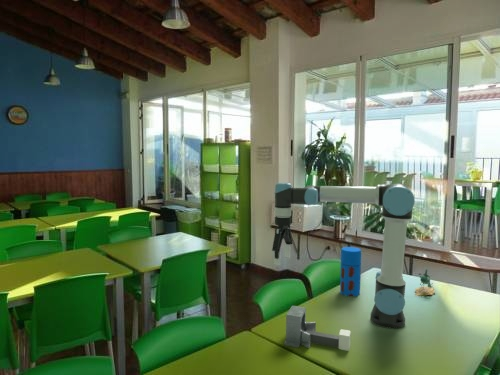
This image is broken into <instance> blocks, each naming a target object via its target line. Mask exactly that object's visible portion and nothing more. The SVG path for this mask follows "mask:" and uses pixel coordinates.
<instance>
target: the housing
mask: <svg viewBox="0 0 500 375" xmlns="http://www.w3.org/2000/svg"><path fill="white" fill-rule="evenodd" d="M306 316H307V307H305V306H303V307H302V306H299V305H298V306H297V305H291V307H290V308H289V309H288V311H287V313H286V315H285V318H286V320H285V321H286V322H285V341H284V343H283V344H284V346H287V347H288V346H289V347H293V348H298V349H299V348H300V346H301V345H302V346H303V347H305V348H308V349H310V348H311V343H310V338H311V334H309V333H307V332H305V331H306V330H308V331H314V332H317V331H316V327H317V325H316V321H307V320H306V319H307V318H306Z"/></svg>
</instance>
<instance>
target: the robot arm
mask: <svg viewBox="0 0 500 375" xmlns="http://www.w3.org/2000/svg"><path fill="white" fill-rule="evenodd" d="M274 188H275V189H274V209H273V211H274V216H275V217H274V225H276V226H278V227H277V228H275V229H274V237H273V242H272V248H271V251H272V252H274V253H273V255H274V259H273V264H274V266H281V259H282V258H281V253H282V252H281V246H282V242H283V241H284V243H285V244H284V258H287V259H291V246H292V245H293V235H292V231H291V225H292V217H291V216H292V205H303V206H304V205H305V206H306V205H307V206H316V205H317V204H318V202H321V203H322V202H324V203H325V202H326V203H349V204H350V203H354V204H375V205H377V207H381V208H382V210H381V217H382V218H383V219H384V229H383V230H384V231H383V241H382V242H383V243H382V254H381V255H382V256H381V265H380V266H381V267H380V271H378V272H376V274H375V292H374V299H373V300H374V305H373V307H372V310H371V312H370V321H371V322H372V323H373V324H374V325H376V326H379V327H381V328H385V329H386V328H387V329H401V328H403V327H405V326H406V317H405V314H404V308H405V305H406V300H405V295H406V294H405V293H406V284H407V283H406V281H405V280H404V277H403V272H404V260H405V249H406V240H407V238H406V237H407V231H408V230H407V229H408V222H410V221H411V220H412V218H413V208H414V205H415V195H414V193H413V191H412V190H411V189H410V188H409V187H408V186H407V185H405V184H402V183H389V184H377V185H376V186H342V185H337V186H336V185H334V186H333V185H313V184H312V185H311V184H310V185H309V184H308V185H306V186H305V187H292V184H291V183H289V182H277V183H276V184H275V187H274Z"/></svg>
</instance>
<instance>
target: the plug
mask: <svg viewBox="0 0 500 375" xmlns="http://www.w3.org/2000/svg"><path fill="white" fill-rule="evenodd" d="M305 332H307V333H309V334H311V338H310V344H311V343H312V344H317V345H323V346H327V347H334V348H337V349H338V350H342V351H348V352H349V351H350V348H351V336H352V334H351V330H348V329H342V328H341V329H340V330H339V332H338V333H339V334H338V335H336V334H330V333H325V332H324V333H323V332H320V331H319V332H318V331H316V332H314V331H308V330H306V331H305Z"/></svg>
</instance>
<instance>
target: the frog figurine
mask: <svg viewBox="0 0 500 375" xmlns="http://www.w3.org/2000/svg"><path fill="white" fill-rule="evenodd" d="M418 275H419V278H420V282H421V283H419V285H420V286H419V287H417V288H415V290H414V292H415V293H414V296H417V297H419V296H421V297H425V296H433V295H434V294H435V293H436V290H435V287H433V284H434V282H433V283H431V276H429V274H428V269H427V268H425V271H424V273H423V275H422V273H418ZM425 285H427V286H425Z"/></svg>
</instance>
